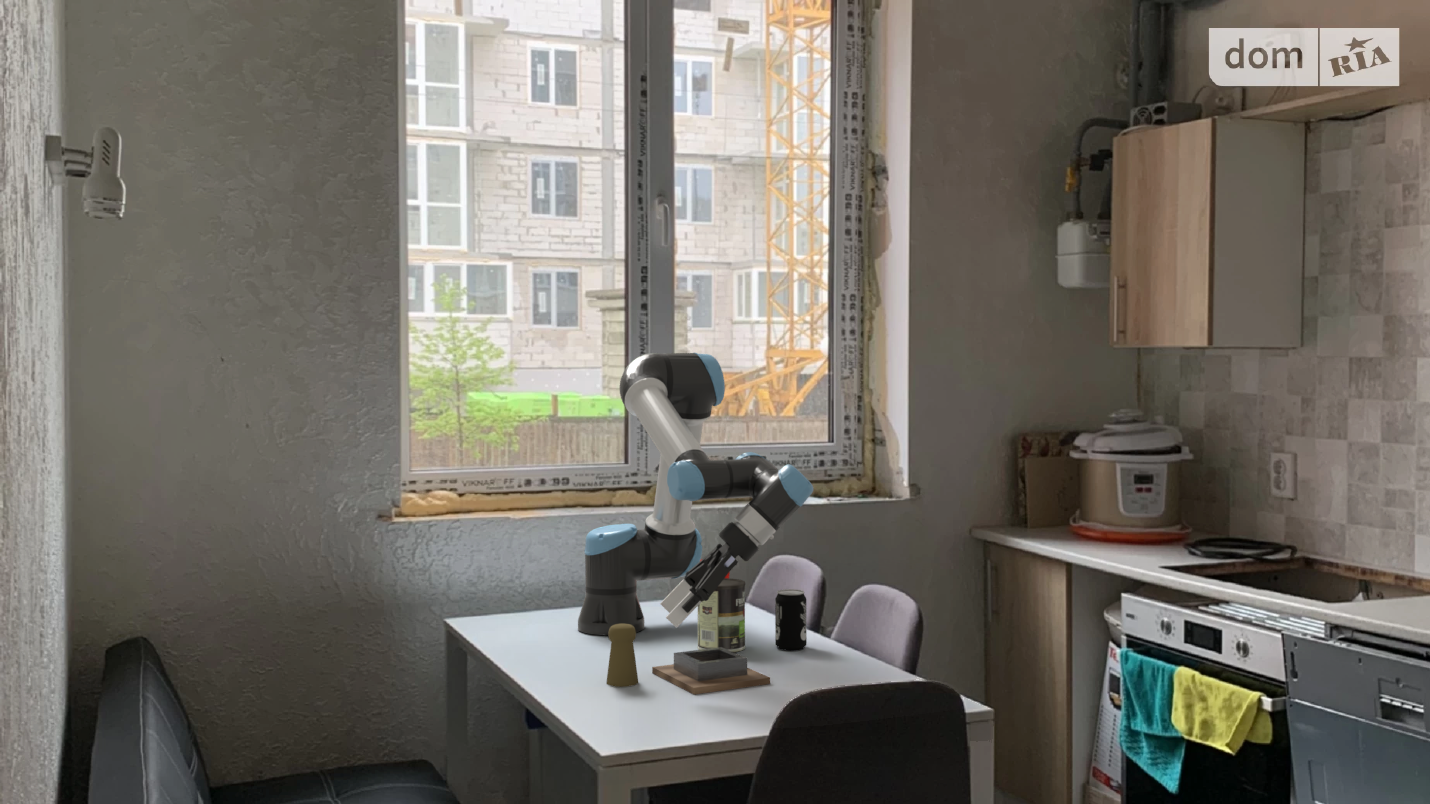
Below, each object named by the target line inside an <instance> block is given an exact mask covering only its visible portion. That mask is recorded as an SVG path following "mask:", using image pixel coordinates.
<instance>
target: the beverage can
mask: <svg viewBox="0 0 1430 804" xmlns="http://www.w3.org/2000/svg"><path fill="white" fill-rule="evenodd" d="M776 592H777V594H776V597H775V598H774V599H775V600H774V603H775V604H774V605H775V606H774V608H775V610H774V611H775V612H774V615H775V616H774V617H775V618H774V624H775V625H774V626H775V628H774V629H775V630H774V631H775V634H774V635H775V637H774V638H775V639H774V640H775V642H774V643H775V646H776V647H777V649H779V650H780V651H781V650H782V651H787V652H789V651H790V652H796V651H801V650H804V649H805V647H806V646H807V645H808V644H807V640H808V639H807V597H806V594H805V591H804V590H801V589H795V588H790V589H789V588H787V589H785V588H784V589H780V590H777V591H776Z"/></svg>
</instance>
